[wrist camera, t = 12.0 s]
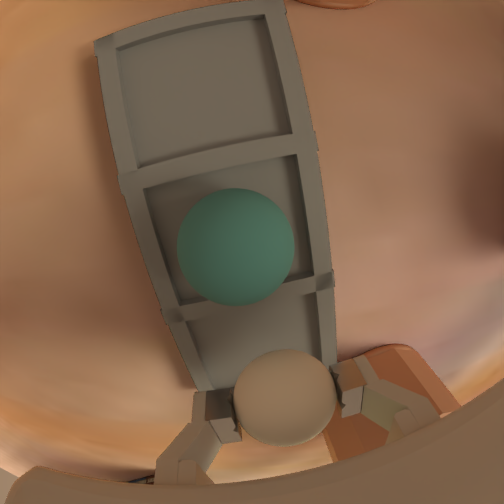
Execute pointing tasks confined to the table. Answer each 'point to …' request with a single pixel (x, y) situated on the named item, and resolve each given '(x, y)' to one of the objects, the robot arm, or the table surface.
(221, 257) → the ball
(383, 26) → the table surface
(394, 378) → the tube
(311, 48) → the table surface
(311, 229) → the tray
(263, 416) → the ball
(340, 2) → the tube
